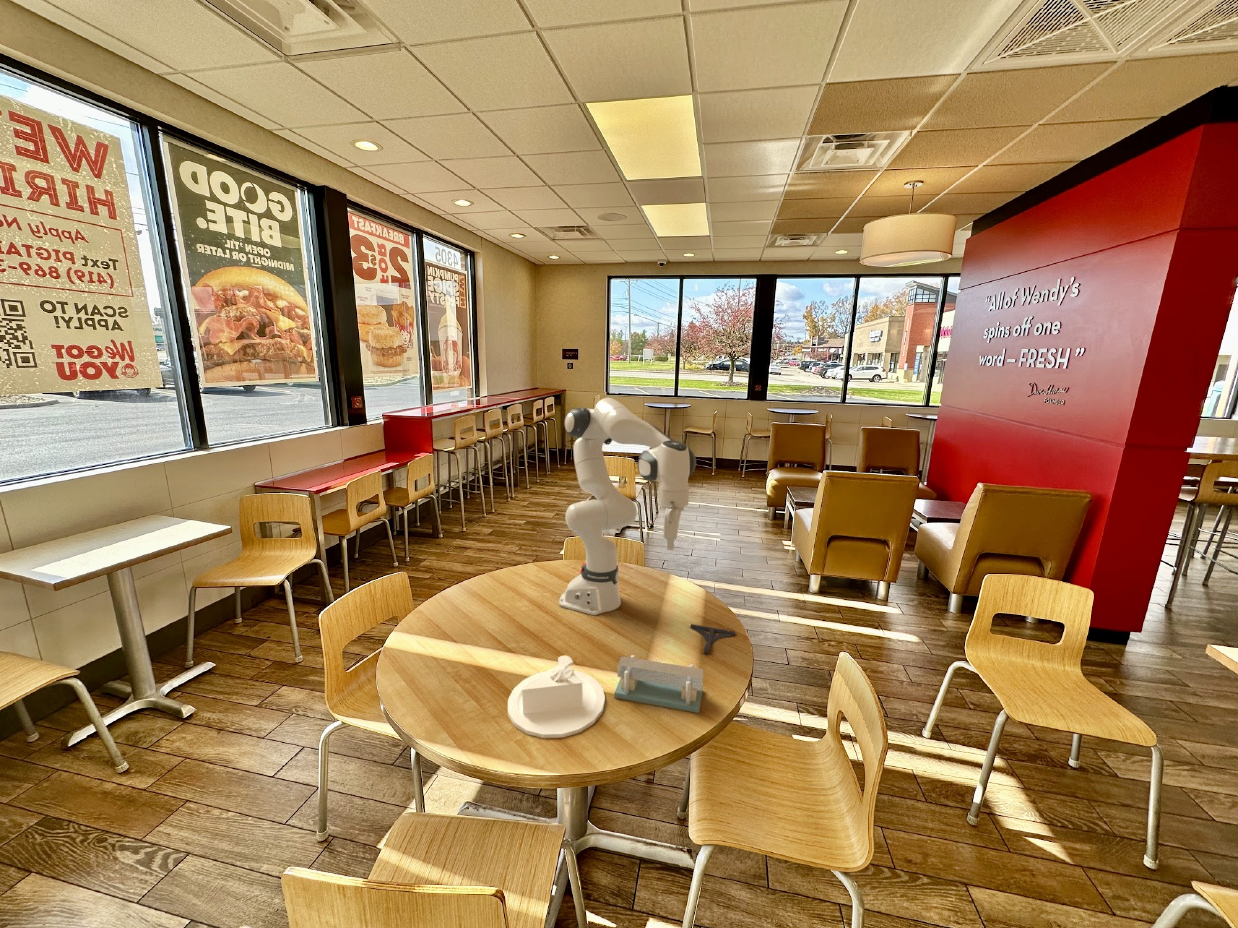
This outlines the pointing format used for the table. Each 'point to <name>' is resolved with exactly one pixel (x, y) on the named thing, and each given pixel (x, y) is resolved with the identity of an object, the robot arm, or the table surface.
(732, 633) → the bracket
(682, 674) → the long grey flat plank
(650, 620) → the table surface
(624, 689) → the rack
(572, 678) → the dish
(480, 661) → the table surface
